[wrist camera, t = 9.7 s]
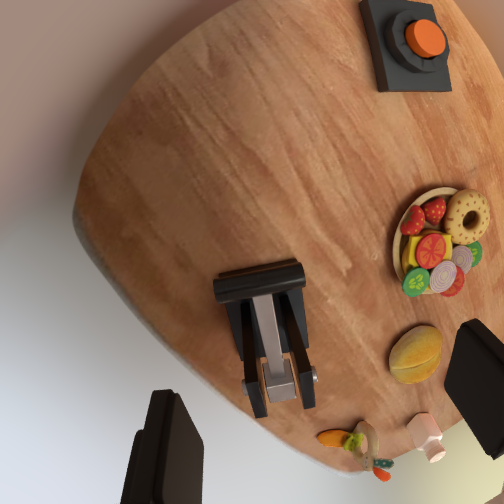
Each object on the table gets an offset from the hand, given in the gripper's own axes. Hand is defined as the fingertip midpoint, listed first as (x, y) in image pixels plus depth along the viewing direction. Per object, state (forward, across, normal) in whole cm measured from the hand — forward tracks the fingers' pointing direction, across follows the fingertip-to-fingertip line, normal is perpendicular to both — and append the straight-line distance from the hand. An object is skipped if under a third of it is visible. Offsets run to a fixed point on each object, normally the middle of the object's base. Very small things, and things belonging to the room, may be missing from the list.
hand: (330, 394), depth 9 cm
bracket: (+23, +2, +11) cm, 26 cm away
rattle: (+24, -8, +37) cm, 44 cm away
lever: (+12, +2, +6) cm, 13 cm away
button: (+19, -17, -15) cm, 30 cm away
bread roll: (+23, -18, +23) cm, 37 cm away
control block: (+23, -17, -15) cm, 32 cm away
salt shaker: (+24, -22, +42) cm, 53 cm away
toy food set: (+23, -20, +7) cm, 31 cm away
